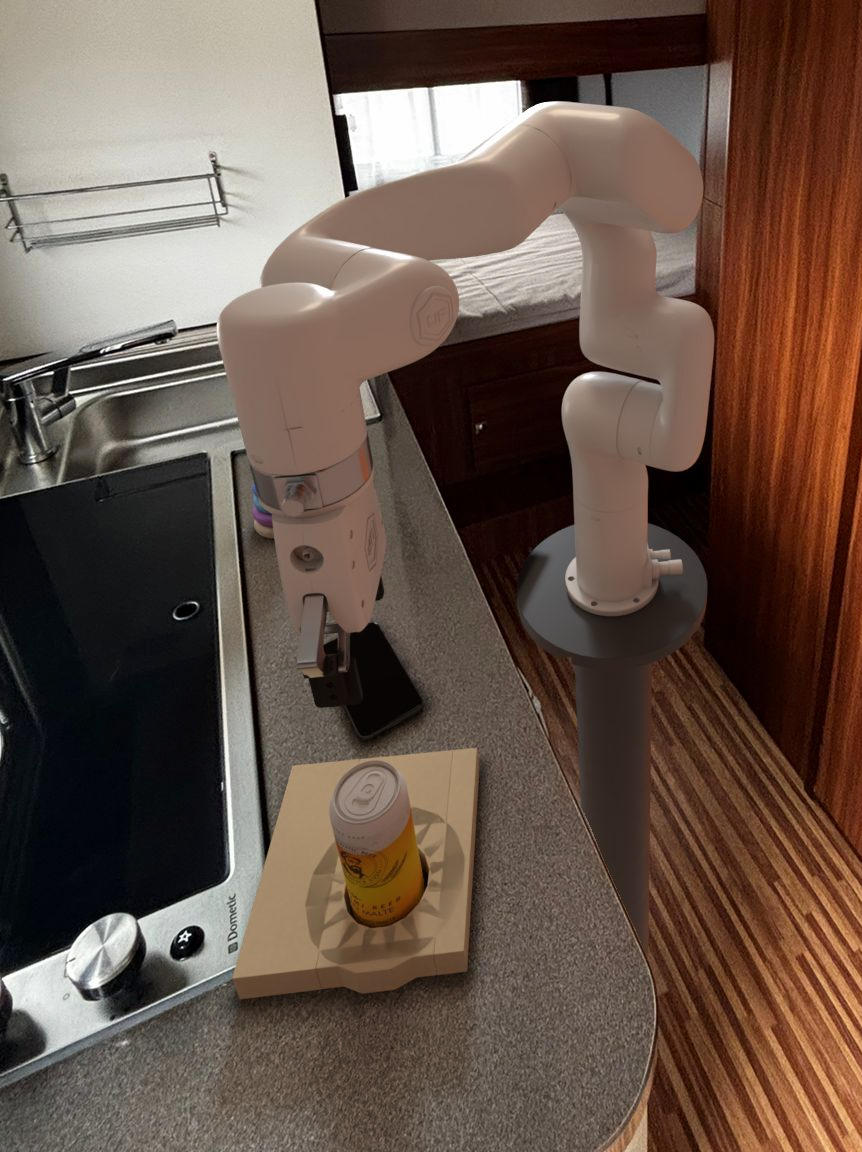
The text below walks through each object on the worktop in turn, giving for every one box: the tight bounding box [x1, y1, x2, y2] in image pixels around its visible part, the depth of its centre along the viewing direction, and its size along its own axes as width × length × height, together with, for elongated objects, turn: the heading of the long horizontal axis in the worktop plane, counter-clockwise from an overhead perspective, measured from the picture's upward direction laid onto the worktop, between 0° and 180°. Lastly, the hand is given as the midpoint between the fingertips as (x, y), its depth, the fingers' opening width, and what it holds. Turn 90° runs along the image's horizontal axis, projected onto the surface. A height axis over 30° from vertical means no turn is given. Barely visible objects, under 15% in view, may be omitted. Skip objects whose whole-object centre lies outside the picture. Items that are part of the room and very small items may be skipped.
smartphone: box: [323, 621, 425, 741], centre depth 92 cm, size 7×1×15 cm
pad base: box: [231, 747, 480, 1000], centre depth 73 cm, size 18×19×3 cm
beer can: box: [329, 760, 425, 928], centre depth 68 cm, size 6×6×15 cm
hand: (353, 647), depth 62 cm, fingers open, 9 cm apart
